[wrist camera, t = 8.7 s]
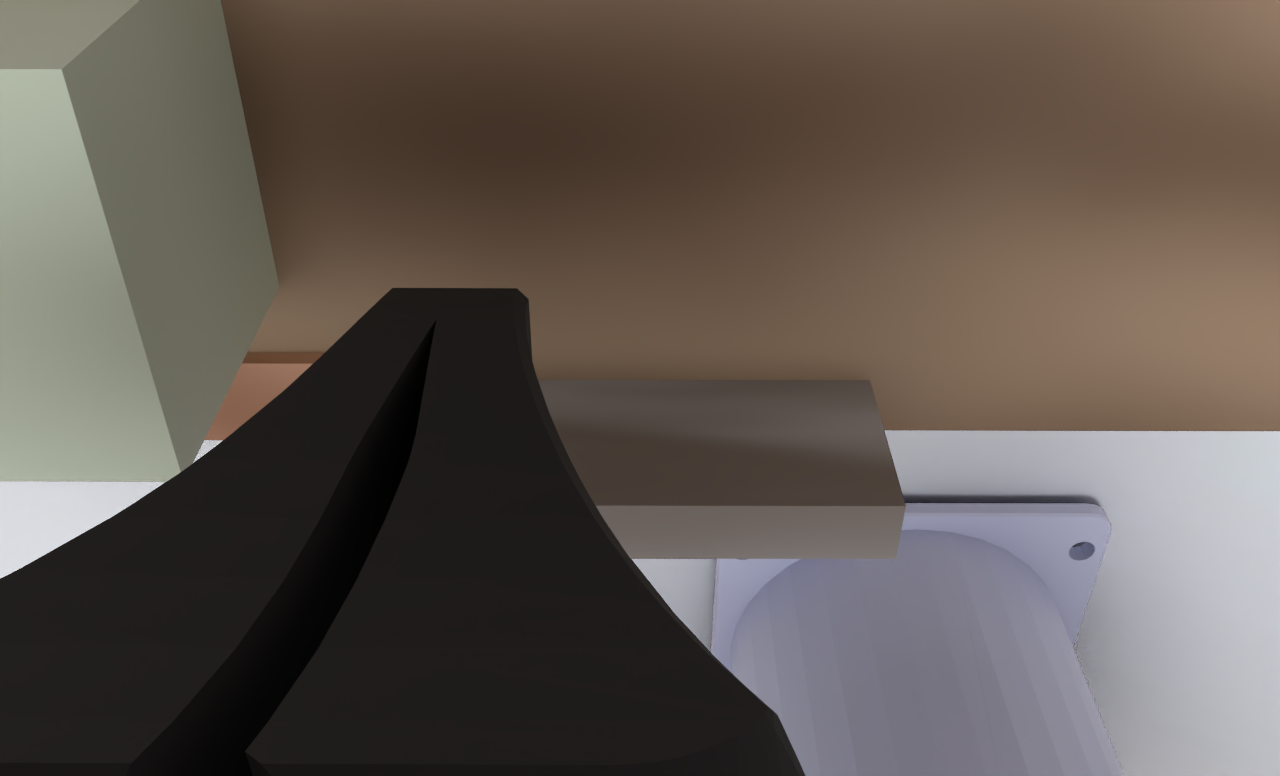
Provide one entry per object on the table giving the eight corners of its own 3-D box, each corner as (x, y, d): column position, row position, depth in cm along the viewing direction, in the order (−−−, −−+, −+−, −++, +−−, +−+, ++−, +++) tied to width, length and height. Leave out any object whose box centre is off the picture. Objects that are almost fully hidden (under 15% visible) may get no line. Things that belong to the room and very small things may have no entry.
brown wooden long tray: (1267, 331, 21) (1454, 560, 16) (-385, 327, 21) (-690, 556, 16) (1506, -292, 16) (1907, -227, 11) (-771, -305, 15) (-1424, -242, 10)
